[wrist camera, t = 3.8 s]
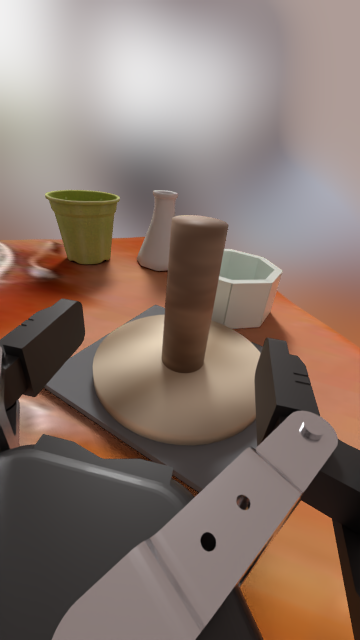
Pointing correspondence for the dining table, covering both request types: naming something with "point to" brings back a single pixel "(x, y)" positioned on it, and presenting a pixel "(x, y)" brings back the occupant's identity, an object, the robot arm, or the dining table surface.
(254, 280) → the bowl
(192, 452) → the mat
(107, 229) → the plant pot
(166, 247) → the flask
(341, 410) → the dining table surface
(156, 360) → the lid
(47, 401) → the dining table surface
